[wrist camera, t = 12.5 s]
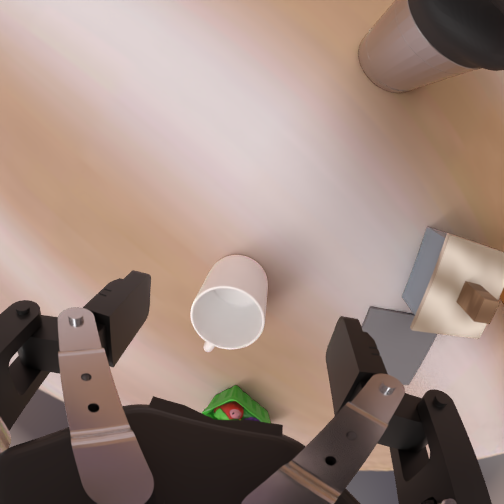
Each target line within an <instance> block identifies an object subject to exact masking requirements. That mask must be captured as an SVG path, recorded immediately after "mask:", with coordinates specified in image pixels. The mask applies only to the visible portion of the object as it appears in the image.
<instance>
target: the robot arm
mask: <svg viewBox="0 0 504 504" xmlns="http://www.w3.org/2000/svg"><path fill="white" fill-rule="evenodd" d="M358 53H359V61H360V64H361V67H362V69H363V71H364V72H365V74H366V75H367V77H368V78H369V79H370V80H371V81H372V82H373V83H374V84H376V85H377V86H379V87H380V88H382V89H384V90H387V91H390V92H395V93H402V92H407V91H410V90H413V89H416V88H419V87H422V86H425V85H428V84H431V83H434V82H437V81H440V80H443V79H446V78H449V77H453V76H456V75H459V74H463V73H466V72H469V71H473V70H476V69H480V68H484V69H488V70H494V71H498V70H504V0H395V1H394V2H393V4H392V5H391V6H390V7H389V8H388V9H387V11H386V12H385V13H384V14H383V15H382V16H381V18H380V19H379V20H378V21H377V22H376V23H375V25H374V26H373V27H372V28H371V30H370V31H369V32H368V33H367V34H366V36H365V37H364V38H363V39H362V41H361V43H360V45H359V51H358ZM150 287H151V276H150V275H149V274H146V273H142V272H138V271H134V270H133V271H132V272H130V273H129V274H128V275H127V276H126V277H125V278H124V279H120V278H119V279H117V280H114V281H112V282H110V283H109V284H108V285H106V286H105V287H104V289H102V290H101V291H100V292H99V293H98V294H97V295H96V296H95V297H94V298H92V299H91V300H90V301H89V302H88V303H87V304H86V305H85V306H84V307H83V308H79V307H74V308H68V309H66V310H64V311H62V312H61V313H60V314H59V316H58V317H52V316H44V315H41V312H40V307H39V305H38V304H37V303H35V302H33V301H27V300H24V301H18V302H15V303H13V304H12V305H11V306H9V307H8V308H7V309H6V310H5V311H4V312H2V313H1V314H0V504H360V503H359V502H358V501H357V500H356V499H355V498H354V497H353V496H352V495H351V494H350V493H349V492H348V490H347V489H346V487H347V485H348V484H349V482H350V481H351V480H352V478H353V477H354V476H355V474H356V473H357V472H358V470H359V469H360V468H361V466H362V465H363V463H364V462H365V461H366V459H367V458H368V456H369V455H370V453H371V452H372V450H373V449H374V447H375V446H376V444H377V443H378V444H381V445H385V446H388V447H390V452H391V458H392V463H393V469H394V475H395V481H396V487H397V494H398V501H399V504H492V503H491V500H490V496H489V493H488V490H487V487H486V484H485V481H484V478H483V475H482V472H481V469H480V466H479V464H478V461H477V458H476V455H475V453H474V450H473V447H472V445H471V442H470V440H469V437H468V435H467V432H466V430H465V427H464V425H463V423H462V420H461V418H460V416H459V413H458V411H457V409H456V406H455V404H454V402H453V400H452V399H451V398H450V397H449V396H448V395H447V394H445V393H444V392H442V391H439V390H429V391H427V392H426V393H425V395H424V396H423V398H419V397H416V396H412V395H409V394H406V393H405V388H404V386H403V384H402V383H401V382H400V381H399V380H398V379H397V378H395V377H393V376H391V375H388V373H387V370H386V368H385V365H384V363H383V360H382V358H381V356H380V353H379V350H378V349H377V345H376V343H375V340H374V339H373V338H372V337H371V336H370V335H369V334H368V333H367V332H363V330H362V327H361V325H360V322H359V320H358V319H354V318H349V317H343V316H341V317H340V318H339V320H338V322H337V324H336V327H335V330H334V332H333V335H332V337H331V340H330V342H329V345H328V348H327V352H326V363H327V369H328V375H329V381H330V388H331V394H332V400H333V407H334V414H335V417H334V418H333V419H332V420H331V421H330V422H329V423H328V424H327V425H326V427H325V428H324V429H323V430H322V431H321V432H320V433H319V434H318V435H317V436H316V437H315V438H314V439H313V440H312V441H311V442H310V443H309V444H308V445H307V446H306V447H305V446H304V445H303V444H301V443H300V442H298V441H296V440H294V439H292V438H290V437H288V436H286V435H283V434H282V427H283V425H279V424H272V423H266V422H260V421H254V420H216V419H213V418H210V417H208V416H206V415H204V414H202V413H199V412H197V411H195V410H193V409H191V408H189V407H187V406H185V405H181V404H178V403H174V402H171V401H167V400H164V399H160V398H157V397H154V396H153V398H152V400H151V402H150V405H142V404H137V405H128V406H122V404H121V401H120V398H119V395H118V392H117V389H116V386H115V383H114V380H113V377H112V374H111V370H110V367H109V366H111V367H114V366H115V364H116V363H117V361H118V360H119V358H120V357H121V355H122V354H123V353H124V351H125V350H126V348H127V347H128V345H129V344H130V342H131V341H132V339H133V338H134V336H135V335H136V333H137V332H138V331H139V329H140V328H141V326H142V325H143V323H144V322H145V320H146V319H147V316H148V313H149V307H150ZM17 351H18V354H19V356H18V357H17V358H16V359H15V360H14V362H13V363H12V364H11V365H10V366H9V362H10V359H11V358H12V356H13V355H14V354H15V353H16V352H17ZM50 372H54V373H60V375H61V383H62V390H63V396H64V403H65V408H66V413H67V419H68V424H69V427H68V428H65V429H63V430H60V431H57V432H54V433H51V434H49V435H46V436H43V437H40V438H37V439H35V440H31V441H28V442H25V443H22V444H19V445H16V446H13V447H10V448H9V446H10V443H11V435H10V432H9V430H10V429H11V427H12V426H13V424H14V423H15V421H16V420H17V418H18V417H19V415H20V414H21V412H22V411H23V409H24V408H25V406H26V405H27V404H28V402H29V401H30V399H31V398H32V396H33V395H34V394H35V392H36V390H37V389H38V388H39V387H40V385H41V384H42V382H43V381H44V380H45V378H46V377H47V376H48V374H49V373H50ZM427 444H428V445H429V448H430V459H429V457H428V453H427V450H426V445H427Z"/></svg>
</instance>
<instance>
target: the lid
mask: <svg viewBox="0 0 504 504" xmlns="http://www.w3.org/2000/svg"><path fill="white" fill-rule="evenodd" d="M503 288H504V252H502V251H500V250H497V249H494V248H491V247H488V246H486V245H483V244H480V243H477V242H474V241H471V240H468V239H465V238H462V237H459V236H456V235H453V234H450V233H447V235H446V238H445V241H444V244H443V247H442V249H441V252H440V255H439V258H438V261H437V263H436V266H435V269H434V271H433V274H432V277H431V279H430V282H429V284H428V287H427V289H426V291H425V294H424V296H423V299H422V301H421V303H420V306H419V308H418V310H417V312H416V315H415V317H414V319H413V321H412V323H411V326H410V328H411V330H413V331H420V332H428V333H435V334H442V335H450V336H458V337H466V338H475V339H479V338H480V336H481V334H482V332H483V330H484V328H485V326H486V324H490V322H491V320H492V318H493V316H494V314H495V312H496V310H497V308H498V305H499V303H500V302H499V301H498V299H499V297H500V295H501V293H502V290H503Z"/></svg>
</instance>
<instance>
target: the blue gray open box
mask: <svg viewBox="0 0 504 504" xmlns="http://www.w3.org/2000/svg"><path fill="white" fill-rule="evenodd" d="M446 235H447V233H446V232H443V231H440V230H437V229H434V228H430V227H427V229H426V232H425V235H424V238H423V241H422V244H421V247H420V250H419V253H418V256H417V258H416V261H415V264H414V267H413V269H412V272H411V275H410V277H409V280H408V283H407V285H406V288H405V290H404V293H403V295H402V298H403V299H404V300H405V302H406V303H407V305H408V306H409V308H410V309H411V311H412V312H413V314H414V315H416V312H417V310H418V308H419V306H420V303H421V301H422V299H423V296H424V294H425V291H426V289H427V287H428V284H429V282H430V279H431V277H432V274H433V271H434V269H435V266H436V263H437V261H438V258H439V255H440V252H441V249H442V247H443V244H444V241H445V238H446Z"/></svg>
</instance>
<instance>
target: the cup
mask: <svg viewBox="0 0 504 504" xmlns="http://www.w3.org/2000/svg"><path fill="white" fill-rule="evenodd" d="M267 292H268V280H267V276H266V273H265V271H264V269H263V268H262V267H261V265H260V264H259V263H257V262H256V261H255V260H253V259H252V258H249V257H247V256H243V255H230V256H226V257H224V258H222V259H220V260H219V261H217V262H216V263H215V264H214V265H213V267H212V268H211V270H210V271H209V273H208V275H207V277H206V279H205V281H204V283H203V285H202V287H201V288H200V290H199V292H198V294H197V296H196V298H195V300H194V302H193V304H192V307H191V314H190V315H191V322H192V325H193V327H194V329H195V331H196V332H197V333H198V335H199V336H200V337H201V338H202V339H203V340H205V343H204V350H205V351H206V352H210V351H212V350H213V348H214V347H215V346H216V347H219V348H223V349H240V348H243V347H246V346H248V345H250V344H252V343H253V342H255V341H256V340H257V339H258V338H259V336H260V335H261V333H262V331H263V329H264V325H265V315H266V304H267Z"/></svg>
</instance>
